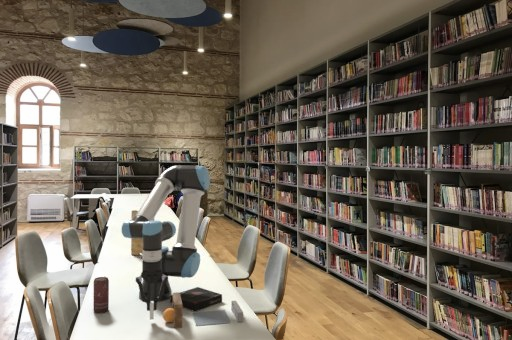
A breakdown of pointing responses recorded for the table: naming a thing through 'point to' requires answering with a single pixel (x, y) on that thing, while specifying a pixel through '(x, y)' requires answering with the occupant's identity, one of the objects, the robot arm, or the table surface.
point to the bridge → (177, 309)
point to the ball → (168, 315)
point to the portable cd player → (199, 298)
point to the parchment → (136, 240)
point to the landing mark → (211, 317)
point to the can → (101, 294)
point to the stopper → (237, 311)
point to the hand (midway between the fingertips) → (151, 318)
